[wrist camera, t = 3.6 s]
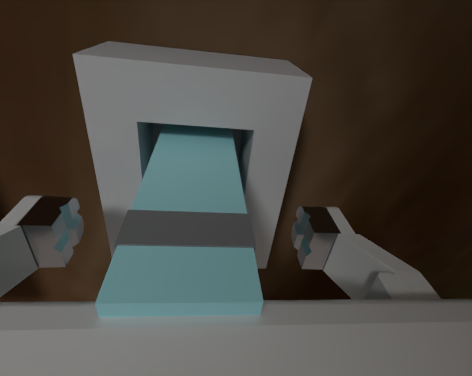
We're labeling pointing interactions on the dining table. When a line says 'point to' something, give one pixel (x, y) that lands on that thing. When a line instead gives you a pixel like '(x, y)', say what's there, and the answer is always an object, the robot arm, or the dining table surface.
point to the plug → (185, 234)
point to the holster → (190, 120)
